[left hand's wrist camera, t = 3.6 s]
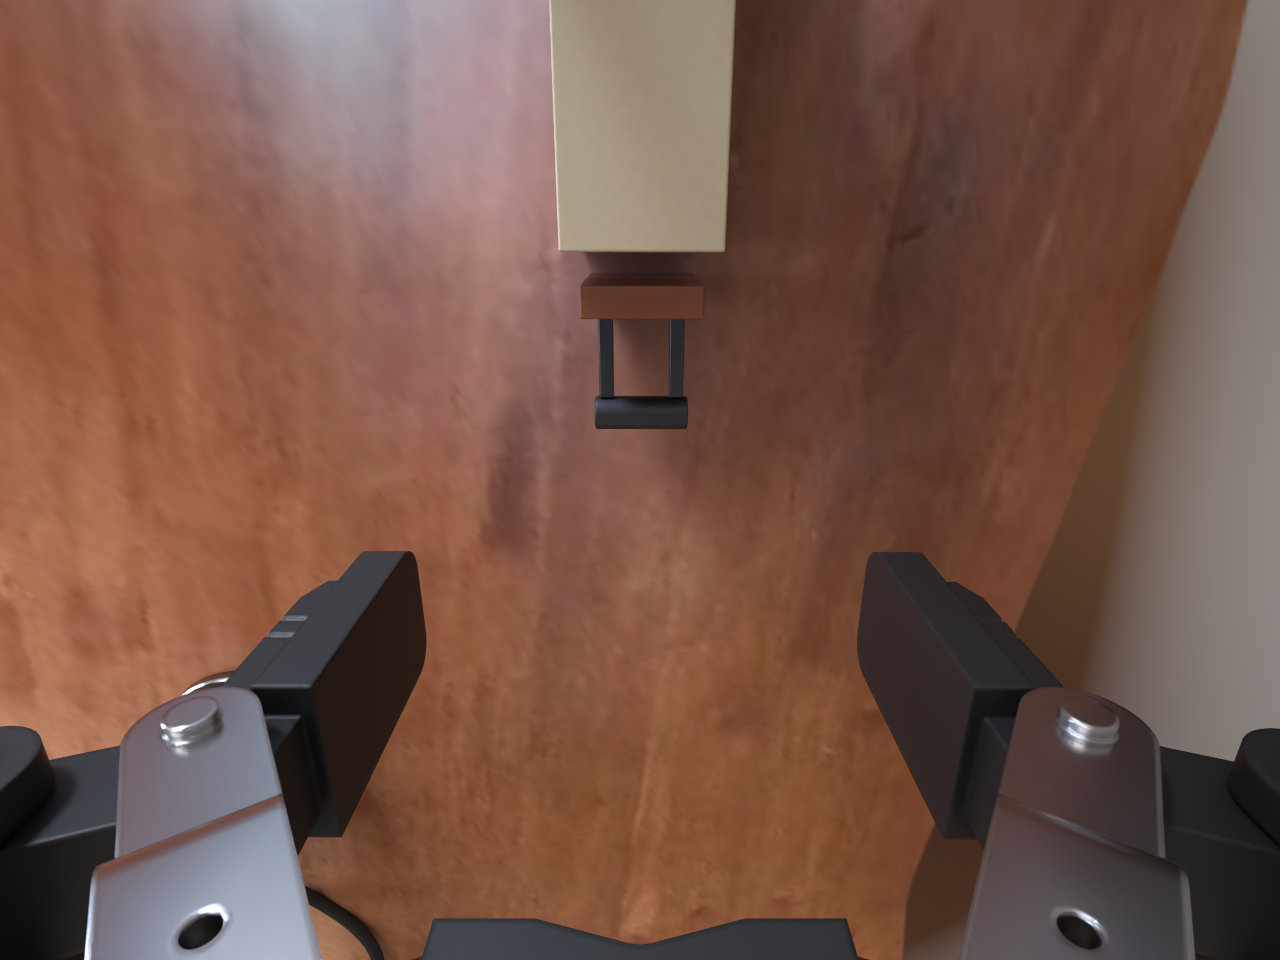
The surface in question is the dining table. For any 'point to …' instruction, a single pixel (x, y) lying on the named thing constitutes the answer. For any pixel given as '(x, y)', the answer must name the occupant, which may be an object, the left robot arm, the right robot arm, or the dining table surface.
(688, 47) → the cabinet
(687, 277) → the drawer
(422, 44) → the dining table surface
